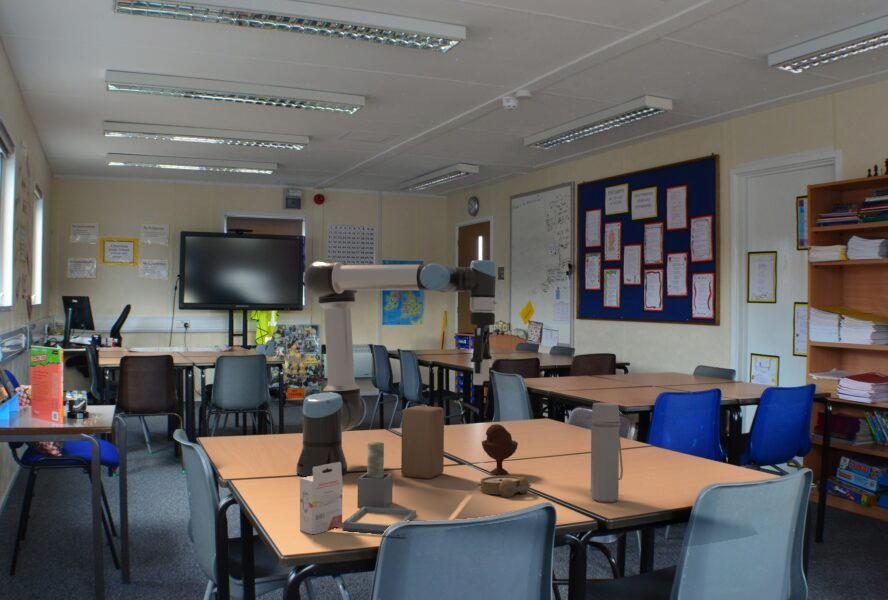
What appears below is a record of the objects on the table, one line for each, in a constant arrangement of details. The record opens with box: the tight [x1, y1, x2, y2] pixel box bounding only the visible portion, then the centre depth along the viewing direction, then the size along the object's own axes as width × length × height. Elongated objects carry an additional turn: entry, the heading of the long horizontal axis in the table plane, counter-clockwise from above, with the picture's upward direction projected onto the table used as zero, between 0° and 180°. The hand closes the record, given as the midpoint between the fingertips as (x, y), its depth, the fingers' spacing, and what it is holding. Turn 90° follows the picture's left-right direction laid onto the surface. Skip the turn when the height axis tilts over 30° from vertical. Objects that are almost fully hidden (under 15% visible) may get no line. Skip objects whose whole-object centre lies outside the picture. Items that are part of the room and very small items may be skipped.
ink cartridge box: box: [299, 462, 343, 535], centre depth 164 cm, size 9×5×15 cm, turn 138°
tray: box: [342, 506, 417, 536], centre depth 167 cm, size 13×14×2 cm
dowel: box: [366, 441, 385, 479], centre depth 181 cm, size 4×4×15 cm
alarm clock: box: [476, 475, 532, 498], centre depth 199 cm, size 11×5×15 cm
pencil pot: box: [356, 472, 394, 509], centre depth 181 cm, size 7×7×8 cm
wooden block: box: [400, 405, 445, 480], centre depth 220 cm, size 10×10×20 cm
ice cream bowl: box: [481, 423, 519, 476], centre depth 223 cm, size 11×11×15 cm
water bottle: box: [590, 402, 624, 503], centre depth 193 cm, size 9×8×25 cm
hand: (481, 382), depth 220 cm, fingers open, 13 cm apart
